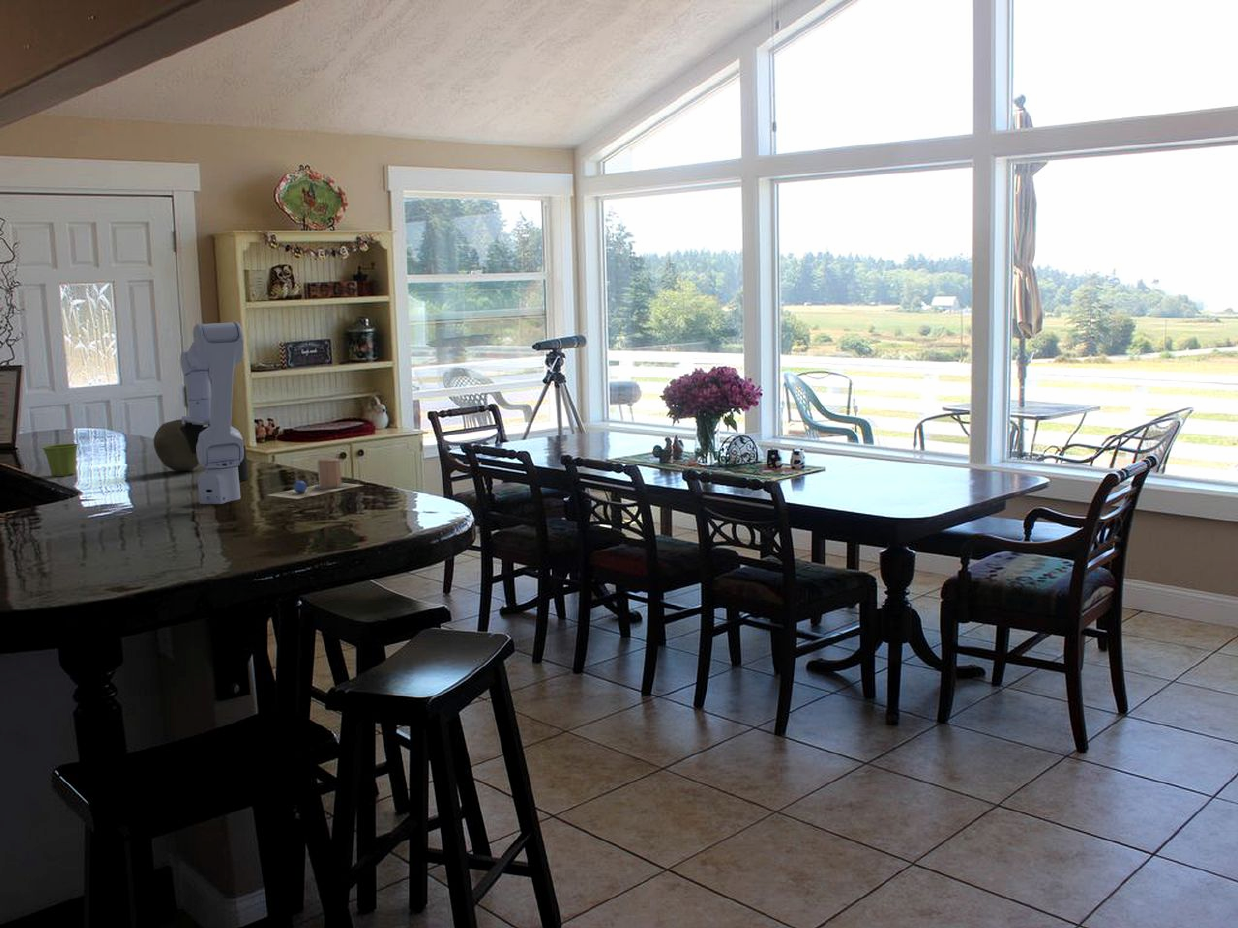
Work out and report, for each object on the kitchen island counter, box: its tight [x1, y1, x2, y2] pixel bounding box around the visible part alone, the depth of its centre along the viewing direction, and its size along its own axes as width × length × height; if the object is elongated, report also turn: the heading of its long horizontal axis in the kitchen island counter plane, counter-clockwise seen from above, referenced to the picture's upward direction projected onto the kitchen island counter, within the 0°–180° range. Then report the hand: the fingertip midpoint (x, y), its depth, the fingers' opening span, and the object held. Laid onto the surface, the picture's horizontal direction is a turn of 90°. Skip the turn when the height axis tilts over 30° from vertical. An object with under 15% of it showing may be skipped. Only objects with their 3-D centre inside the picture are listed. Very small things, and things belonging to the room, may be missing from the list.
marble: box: [293, 480, 308, 493], centre depth 282 cm, size 3×3×3 cm
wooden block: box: [317, 457, 343, 488], centre depth 288 cm, size 5×5×6 cm
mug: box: [238, 444, 249, 483], centre depth 314 cm, size 9×12×9 cm
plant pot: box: [41, 443, 79, 477], centre depth 339 cm, size 9×9×9 cm
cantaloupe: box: [153, 418, 200, 472], centre depth 334 cm, size 14×14×15 cm
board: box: [267, 482, 364, 500], centre depth 285 cm, size 20×12×1 cm, turn 142°
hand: (205, 453), depth 290 cm, fingers open, 7 cm apart
